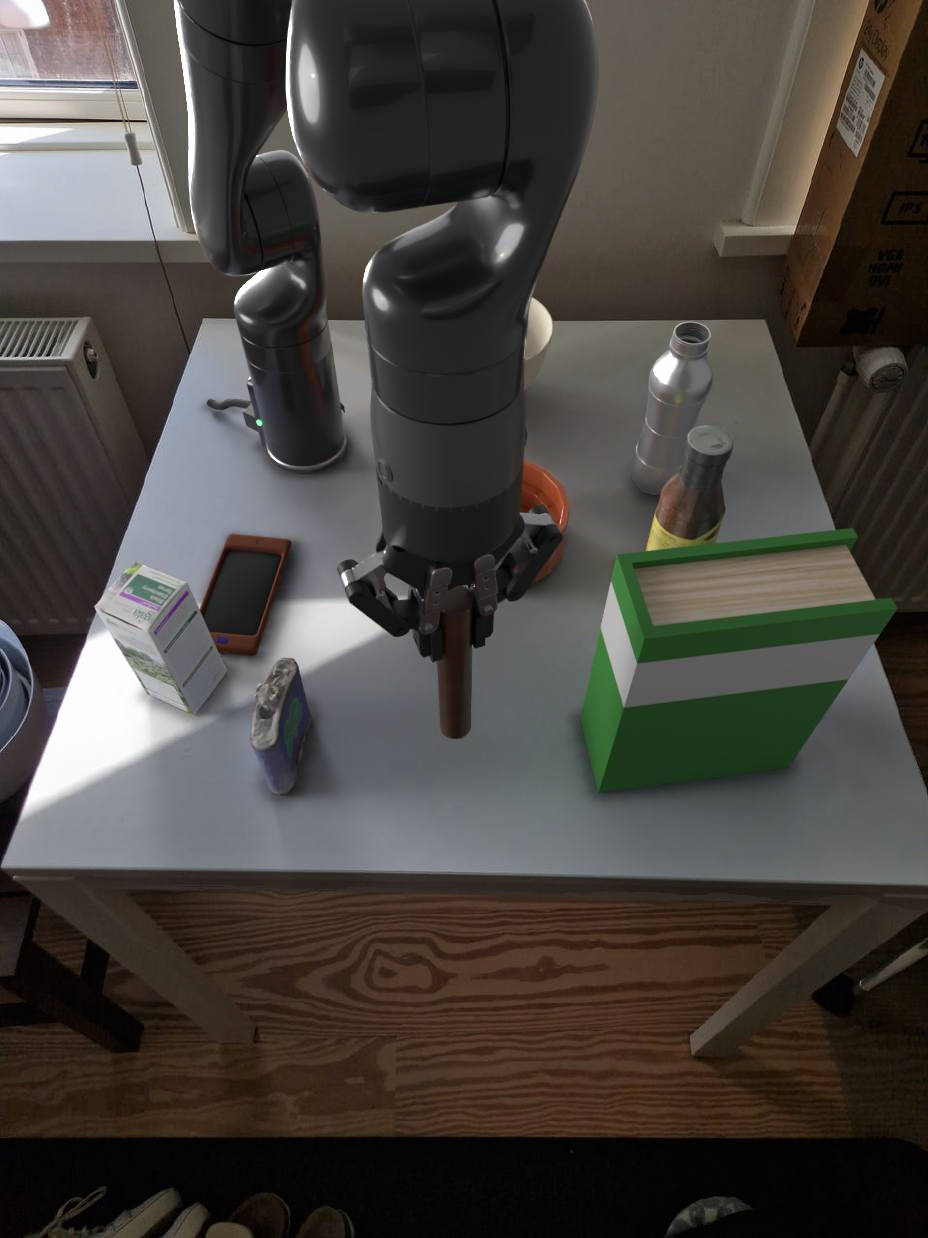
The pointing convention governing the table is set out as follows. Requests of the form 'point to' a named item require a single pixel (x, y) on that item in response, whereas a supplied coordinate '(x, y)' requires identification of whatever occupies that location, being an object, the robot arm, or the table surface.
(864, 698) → the table surface
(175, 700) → the syrup box
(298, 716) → the flask
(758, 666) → the hardback book
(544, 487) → the mixing bowl
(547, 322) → the bowl
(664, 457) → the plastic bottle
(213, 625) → the smartphone
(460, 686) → the stick
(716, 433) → the sauce bottle
